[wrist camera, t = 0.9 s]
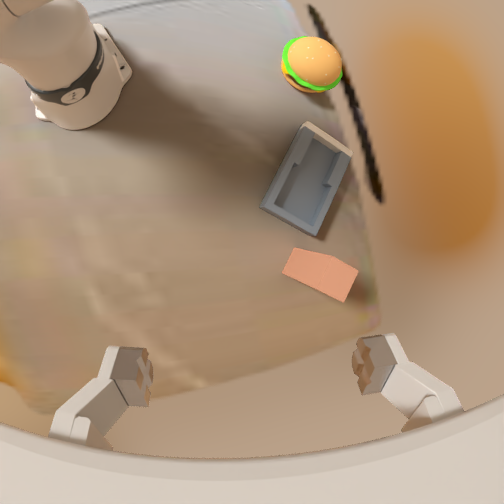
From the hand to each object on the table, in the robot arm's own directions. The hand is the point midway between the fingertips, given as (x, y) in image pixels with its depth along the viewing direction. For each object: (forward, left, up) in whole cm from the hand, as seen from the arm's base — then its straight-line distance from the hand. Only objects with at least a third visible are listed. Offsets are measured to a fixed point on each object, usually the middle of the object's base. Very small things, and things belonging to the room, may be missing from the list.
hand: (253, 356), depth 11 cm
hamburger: (-24, +33, -41) cm, 58 cm away
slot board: (-4, +24, -41) cm, 47 cm away
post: (+10, +17, -41) cm, 45 cm away
